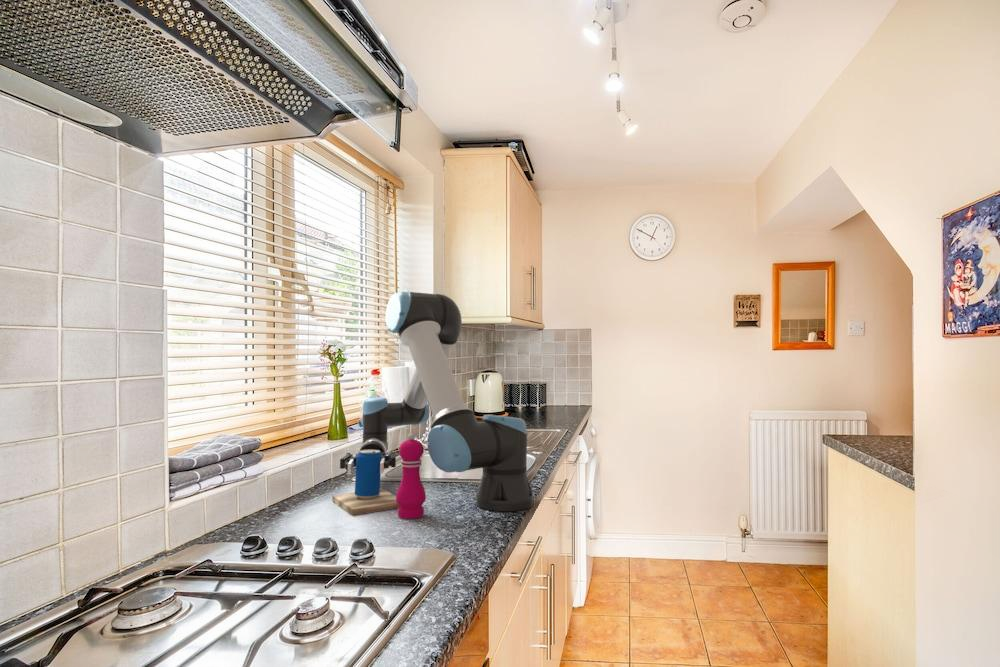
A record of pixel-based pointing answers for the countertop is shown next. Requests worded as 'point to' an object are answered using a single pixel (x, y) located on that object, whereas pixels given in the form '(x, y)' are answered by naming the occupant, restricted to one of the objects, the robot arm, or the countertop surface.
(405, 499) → the pepper mill
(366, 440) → the robot arm
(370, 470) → the beverage can
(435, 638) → the countertop surface
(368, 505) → the wooden cutting board
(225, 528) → the countertop surface
